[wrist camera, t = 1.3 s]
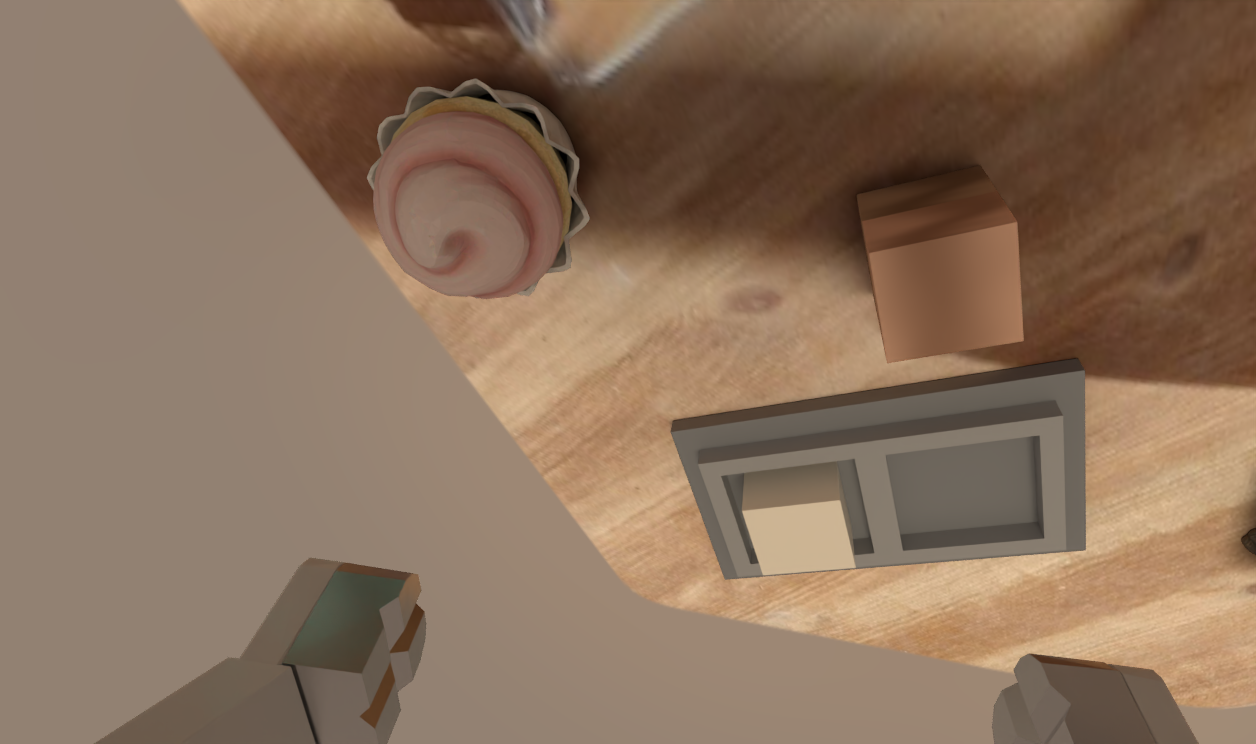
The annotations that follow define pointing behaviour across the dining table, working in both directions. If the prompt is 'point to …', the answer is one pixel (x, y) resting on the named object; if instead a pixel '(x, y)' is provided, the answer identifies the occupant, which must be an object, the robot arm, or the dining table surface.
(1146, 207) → the dining table surface
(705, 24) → the dining table surface
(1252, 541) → the rhino figurine
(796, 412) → the base plate
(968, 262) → the brown block
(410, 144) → the cupcake
